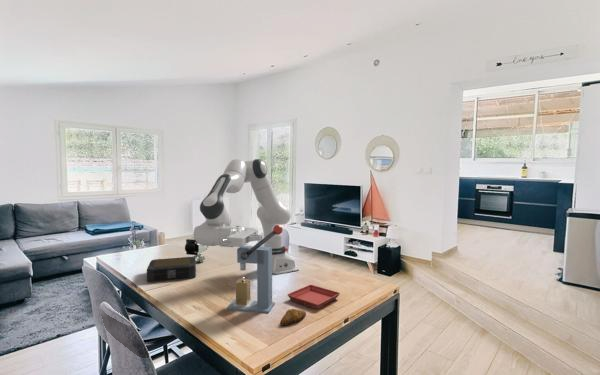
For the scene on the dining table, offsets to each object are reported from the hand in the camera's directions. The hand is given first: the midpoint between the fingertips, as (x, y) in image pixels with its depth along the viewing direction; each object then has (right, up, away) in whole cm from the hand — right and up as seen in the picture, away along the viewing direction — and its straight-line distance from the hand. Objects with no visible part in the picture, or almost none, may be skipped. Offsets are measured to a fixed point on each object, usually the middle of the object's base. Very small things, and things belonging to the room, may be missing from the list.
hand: (261, 238), depth 139 cm
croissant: (+13, -33, -5) cm, 36 cm away
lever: (-8, -9, +2) cm, 12 cm away
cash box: (-56, -29, +50) cm, 81 cm away
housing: (-9, -30, +10) cm, 33 cm away
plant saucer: (+23, -32, +16) cm, 42 cm away
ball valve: (-50, -27, +77) cm, 96 cm away
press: (-5, -31, +8) cm, 33 cm away
